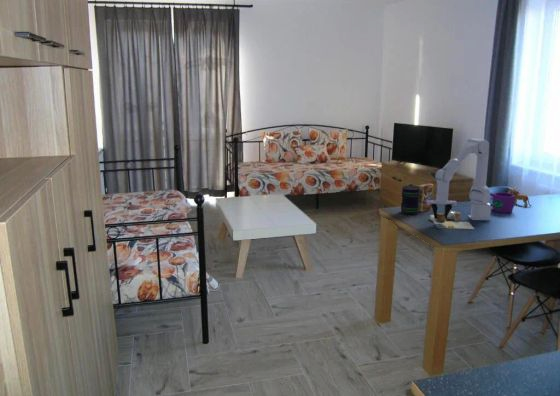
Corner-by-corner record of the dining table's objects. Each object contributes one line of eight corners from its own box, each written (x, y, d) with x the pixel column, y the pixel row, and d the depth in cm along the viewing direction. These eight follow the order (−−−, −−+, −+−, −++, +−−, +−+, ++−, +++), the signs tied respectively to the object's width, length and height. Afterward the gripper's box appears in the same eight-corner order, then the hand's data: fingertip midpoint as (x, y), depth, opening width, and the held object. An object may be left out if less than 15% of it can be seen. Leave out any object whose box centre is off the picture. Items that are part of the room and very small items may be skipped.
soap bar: (442, 219, 256) (442, 214, 255) (445, 221, 251) (446, 217, 251) (429, 219, 255) (430, 215, 254) (433, 222, 250) (433, 217, 250)
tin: (455, 217, 259) (456, 210, 258) (457, 220, 253) (458, 213, 252) (444, 216, 260) (444, 210, 259) (445, 219, 254) (446, 213, 253)
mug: (517, 212, 267) (519, 194, 264) (506, 215, 261) (508, 197, 258) (489, 205, 281) (490, 189, 278) (477, 208, 274) (479, 191, 272)
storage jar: (417, 211, 270) (419, 185, 266) (419, 216, 260) (421, 189, 257) (399, 210, 271) (401, 185, 268) (401, 215, 262) (402, 189, 258)
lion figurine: (505, 202, 286) (506, 188, 284) (509, 201, 289) (511, 187, 287) (529, 207, 275) (531, 193, 273) (533, 206, 278) (535, 191, 276)
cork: (459, 220, 252) (460, 212, 251) (461, 222, 249) (461, 213, 248) (453, 220, 252) (454, 212, 251) (455, 221, 249) (455, 213, 248)
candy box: (421, 212, 267) (423, 186, 264) (415, 210, 271) (417, 184, 267) (431, 209, 272) (433, 184, 268) (425, 208, 276) (427, 182, 272)
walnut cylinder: (445, 220, 245) (445, 213, 244) (444, 223, 241) (444, 215, 240) (435, 220, 246) (436, 212, 245) (435, 222, 242) (435, 215, 241)
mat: (468, 222, 248) (468, 221, 248) (474, 229, 237) (474, 227, 237) (433, 221, 250) (433, 220, 250) (437, 228, 239) (437, 226, 239)
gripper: (454, 191, 243) (452, 216, 247) (426, 190, 244) (424, 215, 248) (458, 194, 236) (456, 220, 240) (429, 194, 238) (427, 219, 241)
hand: (440, 218), depth 243 cm, fingers closed on walnut cylinder, 4 cm apart
